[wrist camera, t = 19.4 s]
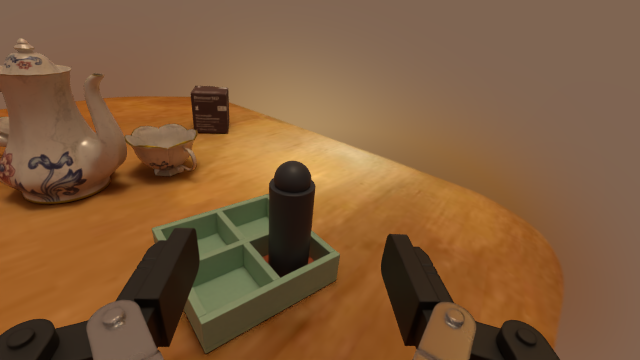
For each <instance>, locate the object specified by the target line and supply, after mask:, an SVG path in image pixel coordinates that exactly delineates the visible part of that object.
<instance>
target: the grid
mask: <svg viewBox="0 0 640 360" xmlns="http://www.w3.org/2000/svg"><path fill="white" fill-rule="evenodd" d="M174 228H195V229H196V233H197V240H198V248H199V256H200V263H199V270H198V273H197V276H196V278H195V281H194V284H193V286H192V289H191V291H190V294H189V296H188V299H187V302H186V304H185V307H184V311H185V313H186V315H187V317H188V319H189V321H190V323H191V325H192V327H193V329H194V331H195V333H196V335H197V338H198V340H199V342H200V344H201V346H202V348H203V350H204V352H205V353H208V352H210V351H212V350H213V349H215V348H217V347H219V346H221V345H222V344H224V343H226V342H228V341H229V340H231V339H233V338H235V337H236V336H238V335H240V334H242V333H243V332H245V331H247V330H249V329H251V328H252V327H254V326H256V325H258V324H259V323H261V322H263V321H265V320H266V319H268V318H270V317H272V316H274V315H275V314H277V313H279V312H281V311H282V310H284V309H286V308H288V307H289V306H291V305H293V304H295V303H296V302H298V301H300V300H302V299H304V298H305V297H307V296H309V295H311V294H312V293H314V292H316V291H318V290H319V289H321V288H323V287H325V286H326V285H328V284H330V283H332V282H334V281H335V280H336V278H337V271H338V265H339V258H340V254H339V253H338V252H337V251H335V250H334V249H333V248H332V247H331V246H329V245H328V244H327V243H326V242H325V241H324V240H322V239H321V238H320V237H319V236H318V235H317V234H315V233H314V232H313V231H312V230H311V239H310V250H309V261H308V265H306V266H304V267H301V268H299V269H297V270H295V271H293V272H291V273H289V274H287V275H285V276H283V277H281V278H280V277H279V276H278V274H277V273H276V272H275V271H274V270H273V269H272V268H271V266H270V265H269V264H268V246H269V194H266V195H263V196H259V197H256V198H253V199H249V200H246V201H243V202H239V203H236V204H232V205H229V206H226V207H222V208H219V209H215V210H212V211H209V212H205V213H202V214H199V215H195V216H192V217H188V218H185V219H182V220H178V221H175V222H171V223H168V224H165V225H161V226H158V227H155V228H152V232H153V237H154V242H155V243H157V242H158V241H159V240H168V238H169V236H170V235H171V233H172V231H173V230H174Z"/></svg>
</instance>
